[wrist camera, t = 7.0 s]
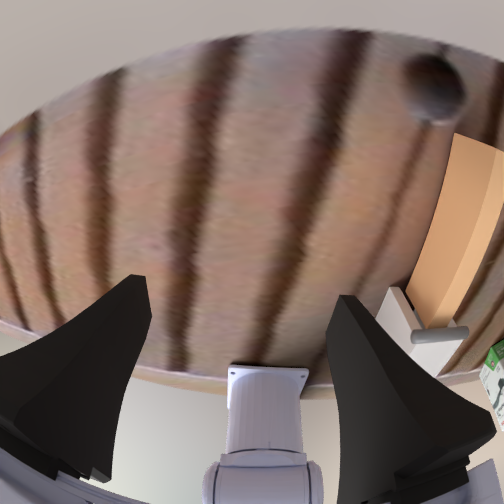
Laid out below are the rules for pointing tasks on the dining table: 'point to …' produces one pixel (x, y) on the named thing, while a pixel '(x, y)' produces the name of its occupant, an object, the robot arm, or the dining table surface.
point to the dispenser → (418, 333)
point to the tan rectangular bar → (458, 230)
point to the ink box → (495, 379)
